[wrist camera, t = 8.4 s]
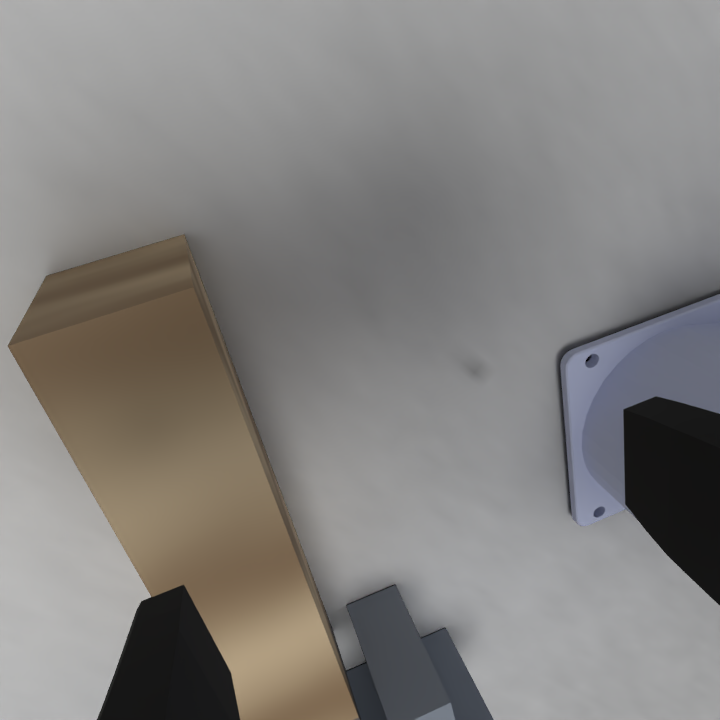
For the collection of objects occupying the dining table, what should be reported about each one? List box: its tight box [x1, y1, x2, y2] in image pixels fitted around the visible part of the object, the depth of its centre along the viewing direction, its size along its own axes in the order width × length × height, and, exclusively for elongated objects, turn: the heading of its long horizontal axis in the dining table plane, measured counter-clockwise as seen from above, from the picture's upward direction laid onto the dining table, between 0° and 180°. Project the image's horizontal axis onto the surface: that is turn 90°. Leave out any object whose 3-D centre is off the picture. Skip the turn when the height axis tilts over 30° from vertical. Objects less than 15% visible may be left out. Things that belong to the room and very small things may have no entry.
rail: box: [8, 235, 361, 720], centre depth 17 cm, size 16×4×4 cm, turn 13°
